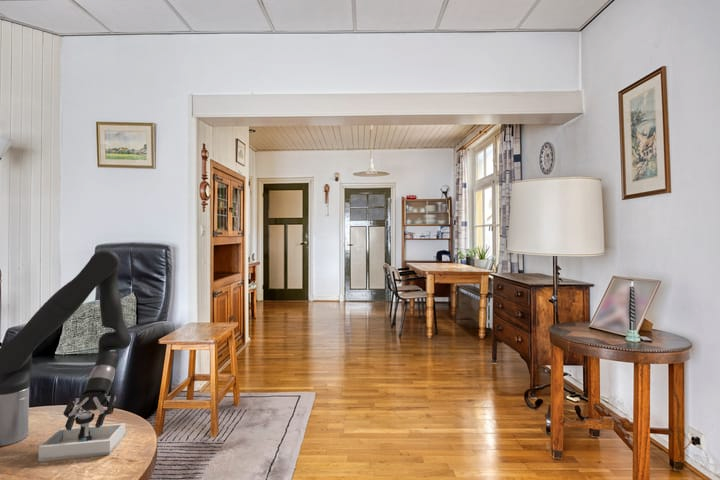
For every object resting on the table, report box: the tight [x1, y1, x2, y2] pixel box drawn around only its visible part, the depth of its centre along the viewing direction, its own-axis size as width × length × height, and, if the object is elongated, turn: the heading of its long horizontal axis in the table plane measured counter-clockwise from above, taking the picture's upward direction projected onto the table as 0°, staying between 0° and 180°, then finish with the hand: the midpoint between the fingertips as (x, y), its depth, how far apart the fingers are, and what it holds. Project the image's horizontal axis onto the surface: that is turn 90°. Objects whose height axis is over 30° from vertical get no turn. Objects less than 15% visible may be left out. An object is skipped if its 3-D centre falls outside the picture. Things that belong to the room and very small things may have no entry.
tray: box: [37, 422, 126, 462], centre depth 123 cm, size 20×12×4 cm, turn 102°
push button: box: [74, 410, 96, 442], centre depth 124 cm, size 7×5×10 cm
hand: (82, 428), depth 122 cm, fingers open, 8 cm apart
